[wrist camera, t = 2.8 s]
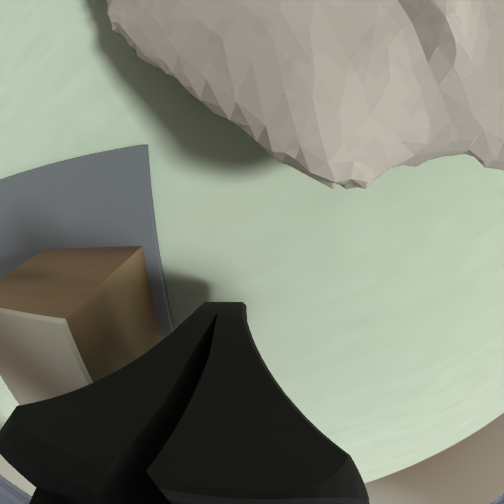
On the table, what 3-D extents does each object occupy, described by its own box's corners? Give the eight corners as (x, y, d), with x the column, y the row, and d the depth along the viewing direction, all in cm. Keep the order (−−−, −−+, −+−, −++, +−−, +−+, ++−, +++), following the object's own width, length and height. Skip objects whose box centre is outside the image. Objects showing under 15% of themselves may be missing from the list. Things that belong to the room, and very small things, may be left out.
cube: (166, 356, 11) (127, 449, 7) (76, 344, 12) (25, 412, 7) (142, 246, 10) (60, 323, 5) (45, 249, 10) (-35, 303, 5)
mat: (192, 403, 13) (191, 407, 13) (-7, 354, 14) (-9, 357, 14) (147, 144, 9) (144, 144, 8) (-57, 202, 10) (-59, 204, 10)
